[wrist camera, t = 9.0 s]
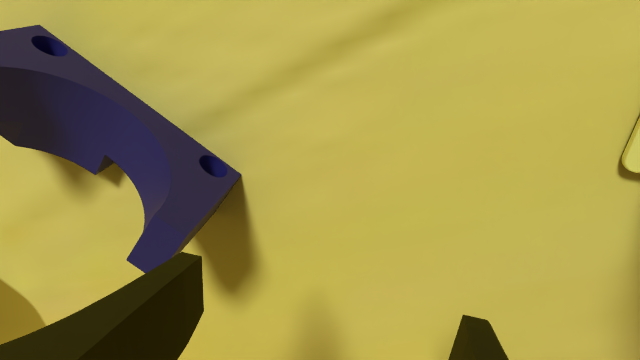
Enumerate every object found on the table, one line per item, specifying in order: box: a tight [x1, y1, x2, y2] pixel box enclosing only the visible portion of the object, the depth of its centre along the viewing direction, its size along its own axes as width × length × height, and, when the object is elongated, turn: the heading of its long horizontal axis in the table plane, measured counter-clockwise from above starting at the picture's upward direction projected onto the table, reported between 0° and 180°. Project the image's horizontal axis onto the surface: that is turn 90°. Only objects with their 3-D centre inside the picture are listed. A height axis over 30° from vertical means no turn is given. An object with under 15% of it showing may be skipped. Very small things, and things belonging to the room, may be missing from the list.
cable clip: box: [0, 25, 241, 273], centre depth 21 cm, size 12×4×6 cm, turn 54°
